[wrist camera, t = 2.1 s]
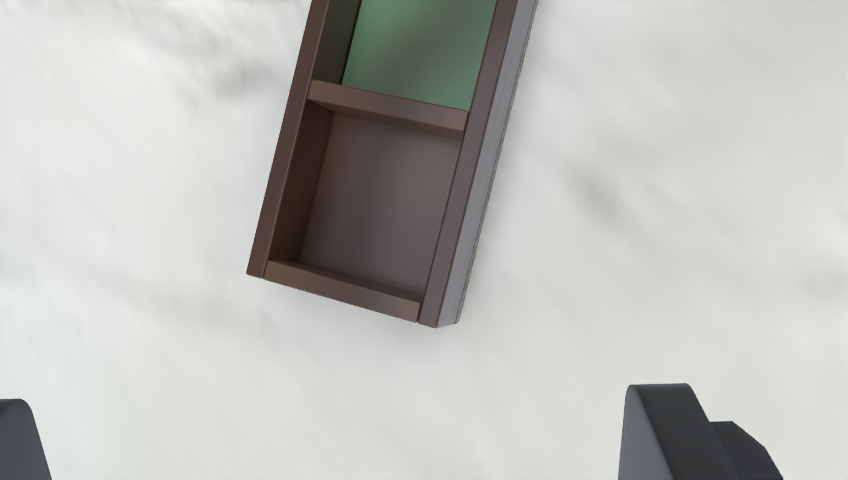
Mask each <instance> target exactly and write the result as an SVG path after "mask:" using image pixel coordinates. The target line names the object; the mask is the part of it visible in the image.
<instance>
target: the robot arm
mask: <svg viewBox="0 0 848 480" xmlns="http://www.w3.org/2000/svg"><path fill="white" fill-rule="evenodd" d="M0 480H52V478H51V475H50V471H49V468H48V464H47V461H46V458H45V454H44V451H43V447H42V444H41V440H40V437H39V434H38V430H37V427H36V423H35V420H34V416H33V413H32V410H31V408H30V406H29V405H28V404H27V402H25V401H24V400H22V399H0ZM618 480H783V477H782V475H781V474H780V472H779V470H778V469H777V467H776V465H775V464H774V462H773V460H772V459H771V457H770V455H769V454H768V452H767V450H766V449H765V447H764V446H762V445H761V444H760V443H759V442H757V441H756V440H755V439H754V438H753V437H751V436H750V435H749V434H748V433H746V432H745V431H744V430H743V429H741V428H740V427H739V426H738V425H737V424H735V423H734V422H733V421H723V422H709V420H708V418H707V416H706V415H705V413H704V411H703V409H702V407H701V405H700V403H699V401H698V399H697V397H696V395H695V394H694V392H693V390H692V388H691V387H690V386H689V385H688V384H687V383H680V384H641V385H630V386H629V387H628V389H627V392H626V397H625V407H624V418H623V429H622V440H621V451H620V463H619V474H618Z"/></svg>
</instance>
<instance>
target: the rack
mask: <svg viewBox="0 0 848 480" xmlns="http://www.w3.org/2000/svg"><path fill="white" fill-rule="evenodd" d="M537 3H538V0H312V2H311V6H310V10H309V14H308V19H307V23H306V27H305V31H304V35H303V39H302V43H301V48H300V52H299V56H298V60H297V64H296V68H295V72H294V77H293V81H292V85H291V89H290V93H289V97H288V101H287V106H286V110H285V114H284V118H283V122H282V126H281V130H280V135H279V139H278V143H277V147H276V151H275V155H274V159H273V164H272V168H271V172H270V176H269V180H268V184H267V188H266V193H265V197H264V201H263V205H262V209H261V213H260V217H259V222H258V226H257V230H256V234H255V238H254V242H253V246H252V251H251V255H250V259H249V263H248V267H247V271H246V274H247V275H250V276H253V277H257V278H260V279H264V280H267V281H271V282H274V283H278V284H281V285H285V286H288V287H292V288H295V289H299V290H302V291H306V292H309V293H313V294H316V295H320V296H323V297H327V298H330V299H334V300H337V301H341V302H344V303H348V304H351V305H355V306H358V307H362V308H365V309H369V310H372V311H376V312H379V313H383V314H386V315H390V316H393V317H397V318H400V319H404V320H407V321H411V322H414V323H417V322H418V323H419V324H422V325H425V326H429V327H432V328H438V327H442V326H446V325H450V324H456V323H458V320H459V316H460V312H461V308H462V304H463V300H464V296H465V292H466V288H467V284H468V280H469V276H470V272H471V268H472V264H473V260H474V256H475V252H476V248H477V244H478V240H479V236H480V232H481V228H482V224H483V220H484V216H485V212H486V208H487V204H488V200H489V196H490V192H491V188H492V184H493V180H494V175H495V171H496V167H497V163H498V159H499V155H500V151H501V147H502V143H503V139H504V135H505V131H506V127H507V123H508V119H509V115H510V111H511V107H512V103H513V99H514V95H515V91H516V87H517V83H518V79H519V75H520V71H521V67H522V63H523V59H524V55H525V51H526V47H527V43H528V39H529V35H530V31H531V27H532V23H533V19H534V15H535V11H536V7H537Z"/></svg>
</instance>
